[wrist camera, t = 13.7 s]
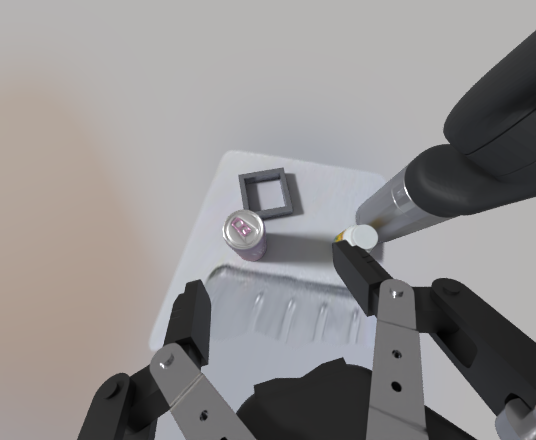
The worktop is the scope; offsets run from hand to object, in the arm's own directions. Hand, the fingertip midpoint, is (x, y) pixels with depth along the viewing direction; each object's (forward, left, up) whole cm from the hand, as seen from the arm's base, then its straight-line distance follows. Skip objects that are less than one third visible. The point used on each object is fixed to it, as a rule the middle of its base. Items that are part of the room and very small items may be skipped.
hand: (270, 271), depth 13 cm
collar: (-2, -17, -31) cm, 35 cm away
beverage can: (+2, -7, -31) cm, 32 cm away
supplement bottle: (-16, -4, -31) cm, 35 cm away
